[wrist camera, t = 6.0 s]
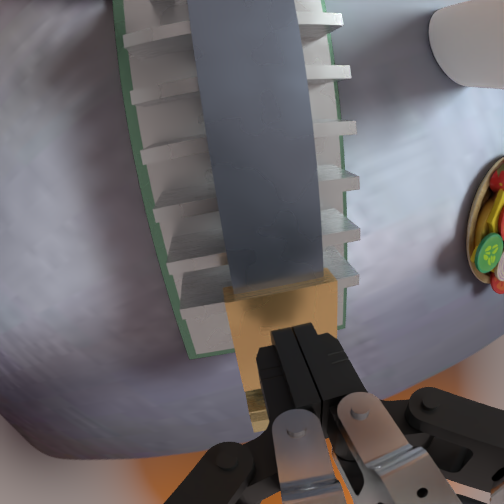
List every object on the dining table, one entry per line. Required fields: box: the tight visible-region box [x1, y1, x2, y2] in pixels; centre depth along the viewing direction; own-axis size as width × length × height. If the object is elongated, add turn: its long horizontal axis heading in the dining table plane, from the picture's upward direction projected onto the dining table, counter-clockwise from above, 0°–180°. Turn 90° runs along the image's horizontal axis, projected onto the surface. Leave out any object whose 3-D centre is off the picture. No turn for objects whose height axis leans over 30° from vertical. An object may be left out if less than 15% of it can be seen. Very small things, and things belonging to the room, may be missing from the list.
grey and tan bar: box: [187, 0, 338, 392], centre depth 11 cm, size 21×4×2 cm, turn 8°
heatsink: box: [112, 0, 360, 432], centre depth 14 cm, size 26×12×9 cm, turn 8°
